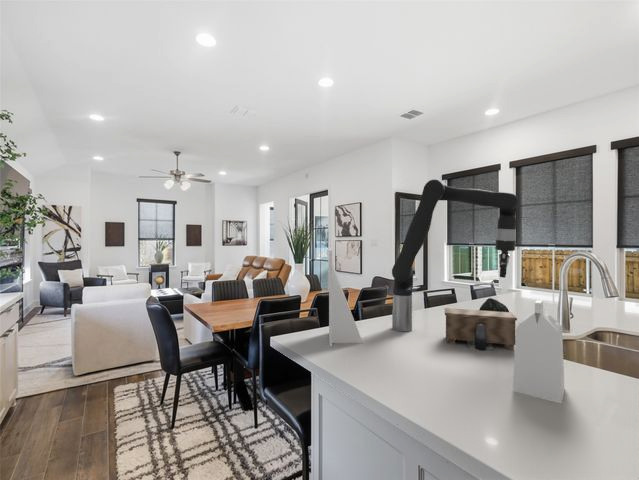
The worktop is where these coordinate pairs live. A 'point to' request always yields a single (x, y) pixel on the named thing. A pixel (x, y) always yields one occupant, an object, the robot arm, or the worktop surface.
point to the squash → (493, 306)
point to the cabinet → (497, 323)
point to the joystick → (480, 338)
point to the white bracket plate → (340, 312)
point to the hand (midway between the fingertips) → (502, 275)
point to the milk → (539, 356)
